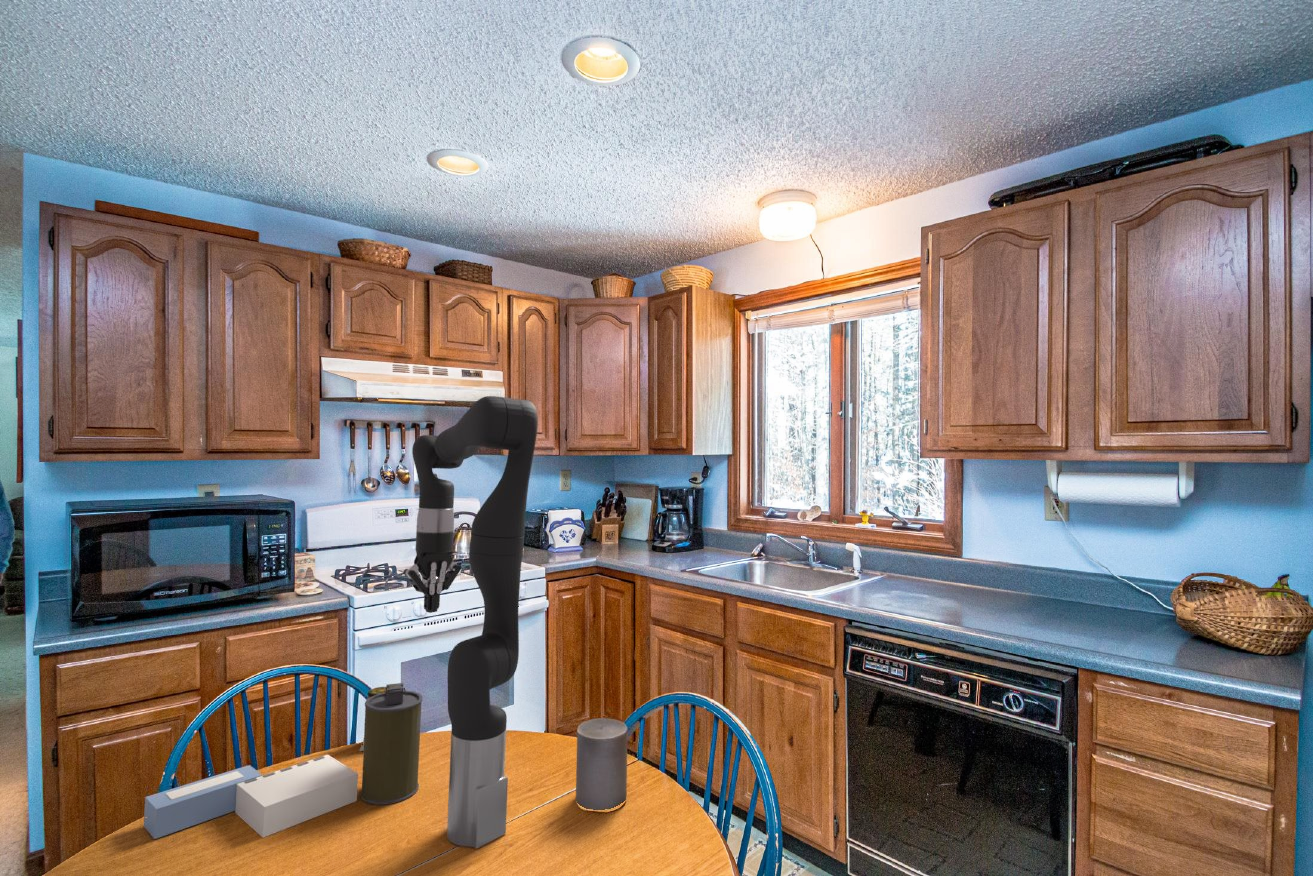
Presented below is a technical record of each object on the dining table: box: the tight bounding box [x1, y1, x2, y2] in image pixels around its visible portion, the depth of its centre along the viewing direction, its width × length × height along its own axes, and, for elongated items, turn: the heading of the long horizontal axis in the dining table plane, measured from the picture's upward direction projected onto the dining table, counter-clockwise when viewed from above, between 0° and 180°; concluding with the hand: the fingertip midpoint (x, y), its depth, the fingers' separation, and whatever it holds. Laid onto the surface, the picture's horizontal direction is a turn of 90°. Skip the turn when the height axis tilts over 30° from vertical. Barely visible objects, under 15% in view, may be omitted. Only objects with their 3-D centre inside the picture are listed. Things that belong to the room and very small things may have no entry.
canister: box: [359, 682, 424, 806], centre depth 125 cm, size 11×10×20 cm
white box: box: [234, 754, 359, 838], centre depth 118 cm, size 12×16×5 cm
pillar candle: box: [575, 717, 628, 810], centre depth 124 cm, size 10×10×15 cm
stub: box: [143, 764, 263, 840], centre depth 115 cm, size 6×16×5 cm, turn 142°
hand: (431, 611), depth 137 cm, fingers closed
